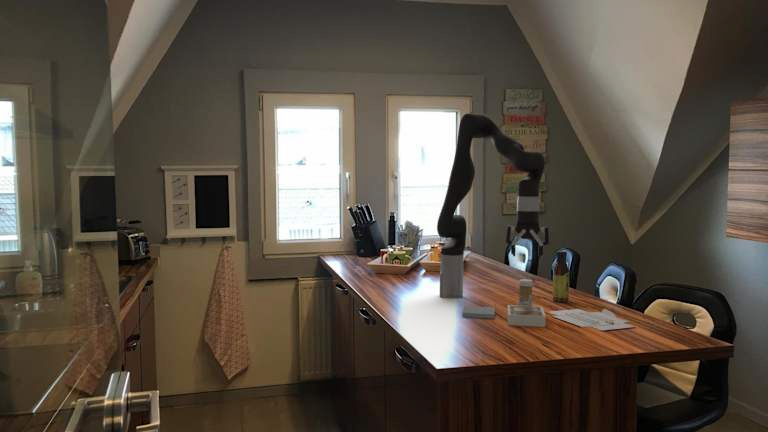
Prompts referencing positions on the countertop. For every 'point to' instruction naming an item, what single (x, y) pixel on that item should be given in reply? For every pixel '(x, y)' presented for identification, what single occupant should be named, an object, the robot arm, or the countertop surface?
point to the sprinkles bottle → (525, 293)
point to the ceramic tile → (478, 312)
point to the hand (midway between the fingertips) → (526, 256)
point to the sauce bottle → (561, 278)
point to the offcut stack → (525, 311)
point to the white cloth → (591, 319)
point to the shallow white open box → (526, 317)
